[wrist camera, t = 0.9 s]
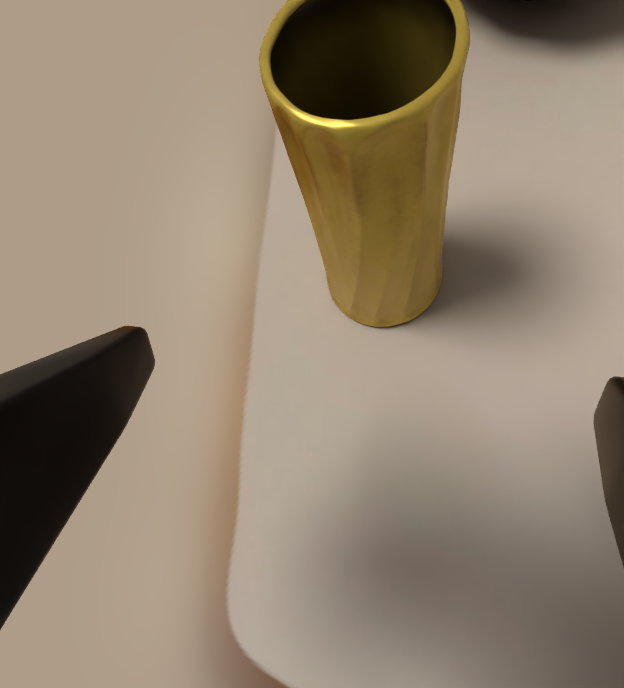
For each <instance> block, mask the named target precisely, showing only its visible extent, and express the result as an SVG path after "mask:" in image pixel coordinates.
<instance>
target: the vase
mask: <svg viewBox="0 0 624 688" xmlns="http://www.w3.org/2000/svg"><path fill="white" fill-rule="evenodd" d="M469 44H470V32H469V24H468V20H467V16H466V13H465V10H464V7H463V5H462V3H461V1H460V0H288V1H287V2H286V3H285V4H284V5H283V6H282V8H281V9H280V10H279V11H278V12H277V14H276V16H275V17H274V19H273V21H272V23H271V25H270V27H269V29H268V31H267V33H266V35H265V37H264V39H263V42H262V46H261V48H260V57H259V62H260V72H261V78H262V82H263V85H264V88H265V91H266V94H267V97H268V99H269V102H270V105H271V108H272V111H273V115H274V117H275V120H276V123H277V125H278V128H279V130H280V133H281V136H282V139H283V142H284V145H285V148H286V150H287V153H288V156H289V159H290V162H291V165H292V167H293V170H294V173H295V175H296V178H297V181H298V184H299V187H300V190H301V192H302V195H303V198H304V201H305V204H306V207H307V210H308V213H309V216H310V219H311V222H312V225H313V229H314V232H315V235H316V239H317V242H318V246H319V249H320V252H321V256H322V259H323V263H324V266H325V270H326V274H327V275H326V276H327V282H328V286H329V290H330V294H331V297H332V299H333V301H334V302H335V304H336V305H337V306H338V307H339V308H340V310H341V311H342V312H343V313H344V314H345V315H347V316H348V317H350V318H351V319H353V320H355V321H357V322H359V323H362V324H365V325H369V326H374V327H387V326H394V325H397V324H401V323H405V322H407V321H410V320H412V319H414V318H415V317H417V316H418V315H420V314H421V313H422V312H423V311H424V310H426V309H427V308H428V307H429V305H430V304H431V303H432V302H433V301H434V299H435V297H436V295H437V293H438V291H439V288H440V285H441V281H442V273H443V267H442V262H441V258H442V249H443V239H444V228H445V213H446V205H447V197H448V185H449V178H450V172H451V166H452V159H453V153H454V146H455V140H456V133H457V127H458V121H459V114H460V103H461V84H462V77H463V72H464V67H465V63H466V59H467V54H468V50H469Z"/></svg>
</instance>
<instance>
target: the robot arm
mask: <svg viewBox="0 0 624 688" xmlns="http://www.w3.org/2000/svg"><path fill="white" fill-rule="evenodd" d="M154 365H155V359H154V355H153V351H152V348H151V345H150V341H149V338H148V334H147V332H146V331H145V329H143V328H141V327H133V326H123V327H121V328H118V329H116V330H113V331H110V332H108V333H105V334H103V335H100V336H98V337H95V338H92V339H90V340H87V341H85V342H82V343H80V344H77V345H74V346H72V347H70V348H67V349H64V350H62V351H59V352H57V353H54V354H51V355H49V356H46V357H44V358H41V359H39V360H36V361H34V362H31V363H28V364H26V365H23V366H21V367H18V368H15V369H13V370H10V371H8V372H5V373H3V374H0V629H1V628H2V626H3V625H4V623H5V621H6V620H7V618H8V617H9V615H10V613H11V612H12V610H13V608H14V607H15V605H16V604H17V602H18V600H19V599H20V597H21V595H22V594H23V592H24V590H25V589H26V587H27V586H28V584H29V582H30V581H31V579H32V578H33V576H34V574H35V573H36V571H37V570H38V568H39V566H40V565H41V563H42V562H43V560H44V558H45V556H46V555H47V553H48V552H49V550H50V549H51V547H52V545H53V544H54V542H55V540H56V539H57V537H58V536H59V534H60V532H61V531H62V529H63V527H64V526H65V524H66V523H67V521H68V519H69V518H70V516H71V515H72V513H73V511H74V510H75V508H76V507H77V505H78V503H79V502H80V500H81V498H82V497H83V495H84V494H85V492H86V490H87V489H88V487H89V485H90V483H91V482H92V480H93V479H94V477H95V476H96V474H97V473H98V471H99V469H100V468H101V466H102V464H103V463H104V461H105V460H106V458H107V456H108V455H109V453H110V452H111V450H112V448H113V447H114V445H115V443H116V442H117V440H118V439H119V437H120V435H121V434H122V432H123V430H124V428H125V427H126V425H127V423H128V421H129V419H130V417H131V415H132V413H133V411H134V409H135V407H136V405H137V402H138V401H139V398H140V396H141V394H142V392H143V390H144V388H145V386H146V384H147V382H148V380H149V378H150V376H151V373H152V371H153V369H154ZM594 430H595V436H596V443H597V450H598V457H599V463H600V470H601V477H602V484H603V490H604V496H605V502H606V506H607V510H608V514H609V517H610V521H611V524H612V528H613V531H614V535H615V538H616V542H617V545H618V549H619V552H620V556H621V560H622V563H623V567H624V377H612V378H610V379H609V381H608V382H607V384H606V386H605V389H604V391H603V393H602V396H601V398H600V401H599V403H598V406H597V408H596V411H595V414H594Z"/></svg>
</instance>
